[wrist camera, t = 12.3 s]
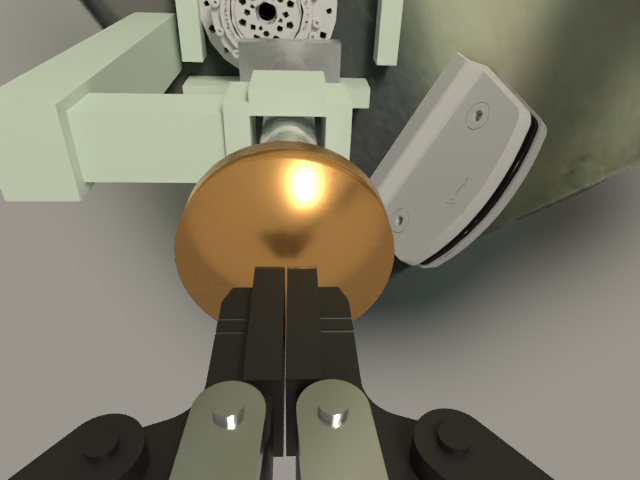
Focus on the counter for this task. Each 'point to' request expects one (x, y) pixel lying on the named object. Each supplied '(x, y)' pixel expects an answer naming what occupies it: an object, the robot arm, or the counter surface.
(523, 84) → the counter surface
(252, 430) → the robot arm
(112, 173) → the frame
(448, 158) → the grey curved housing
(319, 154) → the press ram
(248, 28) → the mechanical component
